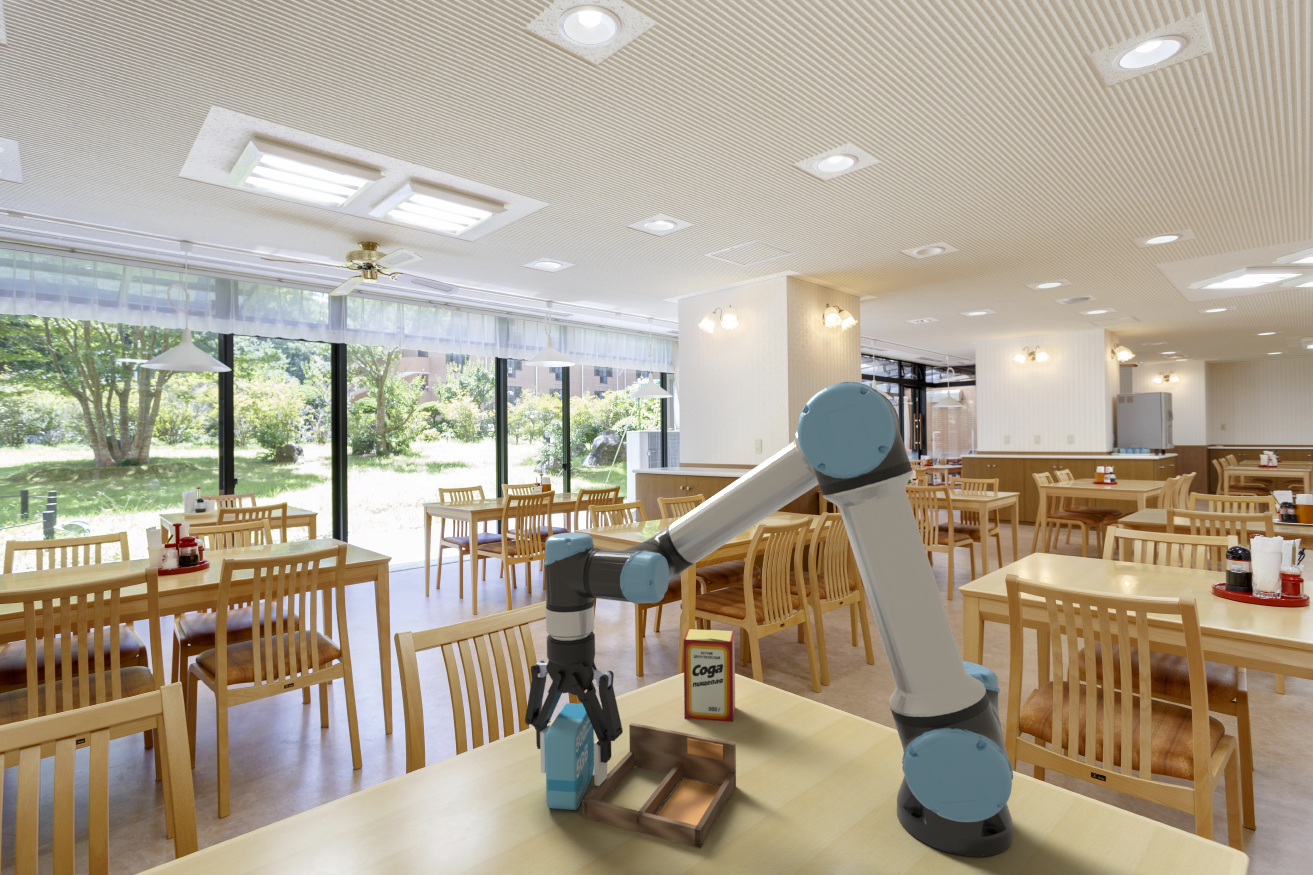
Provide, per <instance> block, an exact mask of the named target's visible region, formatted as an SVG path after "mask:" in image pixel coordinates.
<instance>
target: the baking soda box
mask: <svg viewBox="0 0 1313 875" xmlns="http://www.w3.org/2000/svg"><path fill="white" fill-rule="evenodd" d="M735 636H736V635H735V631H734V630H724V629H723V630H719V629H693V628H692V629H690V628H688V629H687V632H686V633H685V636H684V638H683V688H684V689H683V694H684V695H683V698H684V700H683V703H684V706H683V707H684V712H683V713H684V719H685V720H686V719H687V720H698V721H699V720H700V721H701V720H702V721H703V720H704V721H712V722H713V721H716V722H727V723H729V722H730V723H733V722H734V718H735V713H736V712H735V710H736V673H735V672H736V667H735V666H736V664H735V663H736V659H735V658H736V657H735V656H736V655H735V654H736V653H735V652H736V651H735V650H736V649H735V644H736V643H735V640H736V638H735Z"/></svg>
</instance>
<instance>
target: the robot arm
mask: <svg viewBox="0 0 1313 875" xmlns="http://www.w3.org/2000/svg"><path fill="white" fill-rule="evenodd" d="M800 412H801V413H800V414H799V417H798V421H797V427H796V431H795V434H794V435H795V436H794V439H793V441H791V442H790V443H789V444H788V445H786V446H784V447H782V449H780V450H778V451H776V453H774V454H772V455H771V456H769V457H768V458H766V459H765V460H764V461H762V462H761V463H759V464H758V465H757V466H755V467H753V468H752V469H751V470H749V471H748V472H746V473H744V475H742V476H740V477H739V478H737V479H736V480H734V481H733V482H731V484H728V485H727V486H726V487H724V488H723V489H721V490H720V491H718V492H717V493H715V494H714V495H712V496H711V497H710V498H708V499H707V500H705V501H703V502H702V503H701V504H699V505H697V507H695V508H694V509H692V510H690V511H689V512H687V513H686V514H685V515H683V516H681V517H680V518H678V519H677V520H675V521H674V522H672V524H670V525H668V526H667V527H665V528H664V529H662V530H661V531H659V532H658V533H656V534H655V535H653V536H651V537H650V538H648V539H647V540H644V541H643V542H639V543H637V544H635V545H632V546H629V547H628V548H625V549H604V548H603V549H602V548H598V547H595V544H594V540H593V537H592V535H590V534H589V533H584V532H562V533H556V534H553V535H550V536H549V537H548V538H547V539H546V541H545V546H544V550H545V551H544V563H543V567H544V576H545V597H546V598H545V600H546V601H545V631H546V633H547V636H546V658H547V660H548V661H547V662H545V661H544V660H540V661H538V662H536V663H534V664H532V666H530V675H531V683H530V690H529V694H528V700H527V704H526V705H527V706H526V711H525V717H524V723H525V724H526V725H528V726H530V725H531V726H533V727H534V729H535V731H536V732H535V734H536V735H535V737H536V741H535V742H536V748H537V750H540V773H541V774H546V735H547V731H548V729H549V728H550V726H551V725H552V724H550V723H551V722H552V720H551V718H552V716H553V714H554V712H555V710H556V707H557V705H558V703H559V701H560V699H561V696H562V694H571V695H572V696H573V695H574V696H576V698H577V699H578V701H579V702H580V703H581V704H583V706H584V708H585V710H586V713H587V715H588V717H589V720H590V722H591V724H592V727H593V729H594V734H595V735H596V738H597V739H596V740H594V771H593V774H594V786H600V784H601V783H602V782H603V781H604V780H605V779H606V778H607V774H608V762H609V761H610V760H611V759H612V742H615V741H616V740H617V739H618V738H619V737H620V736H621V735H622V734H623V733H624V732H623V730H624V729H623V725H622V721H621V717H620V712H619V707H618V704H617V698H616V694H615V690H614V674H615V673H614V672H613V671H612V670H608V671H606V672H605V671H602V670H599V669H598V668H597V666H596V664H595V656H596V637H595V636H596V634H595V633H594V632H593V631H594V630H595V599H600V600H607V601H616V602H625V603H631V604H636V605H641V604H657V603H659V602H661V601H662V600H663V599H664V597H665V594H666V593H667V591H668V588H669V582H670V580H673V579H675V578H677V577H678V576H679V575H681V574H682V573H683V572H685V571H686V570H687V569H689V568H690V567H692V566H693V565H694V564H696V563H697V562H699V561H701V560H702V559H704V558H706V557H707V556H708V555H711V553H713V552H715V551H716V550H718V549H720V548H721V547H723V546H725V545H726V544H727V543H729V542H731V541H732V540H733V539H735V538H737V537H739V536H740V535H742V533H744V532H747V530H749V529H751V528H752V527H754V526H755V525H757V524H759V523H760V522H762V521H763V520H765V519H767V518H768V517H769V516H771V515H773V514H775V513H776V512H777V511H779V510H780V509H783V507H785V506H787V505H788V504H790V503H792V502H793V501H795V500H797V499H798V498H799V497H801V496H803V495H804V494H806V493H807V492H809V491H811V490H812V489H814V488H815V487H816V486H818V485H819V486H818V487H819V489H820V492H821V495H822V498H823V499H825V500H826V501H828V502H830V503H832V504H834V505H835V506H836V507H838V510H839V512H840V516H841V518H842V522H843V525H844V528H845V531H846V534H847V538H848V540H849V544H850V547H851V549H852V553H853V556H854V559H855V562H856V566H857V569H858V572H859V574H860V578H861V581H862V585H863V587H864V590H865V593H866V597H867V600H868V603H869V605H870V609H871V613H872V615H873V618H874V622H875V624H876V628H877V631H878V633H879V638H880V641H881V643H882V647H883V650H884V652H885V655H886V659H887V662H888V666H889V668H890V671H891V674H892V677H893V681H894V684H895V689H894V690H893V692H892V694H891V695H890V697H889V700H888V702H889V708H890V711H891V714H892V717H893V720H894V723H895V727H896V730H897V733H898V736H899V740H900V743H901V747H902V751H903V755H902V761H901V764H902V772H903V774H904V775H903V779H902V781H901V783H900V785H899V789H898V792H897V796H896V816H897V819H898V820H899V823H900V824H901V826H902V827H903V828H904V830H906V831H907V833H909V834H910V835H911V836H913V837H914V838H916V839H917V840H918V841H920V842H922V843H924V844H926V845H928V846H930V847H932V848H935V849H937V850H939V851H943V852H946V853H949V854H953V855H958V856H964V857H965V856H966V857H987V856H988V857H989V856H990V857H991V856H993V855H997V854H1000V853H1002V852H1004V851H1006V850H1007V849H1008V848H1009V847H1010V846H1011V844H1012V842H1013V820H1012V815H1011V812H1010V809H1009V806H1008V801H1009V799H1010V797H1011V794H1012V790H1013V789H1012V788H1013V780H1014V770H1013V767H1012V764H1011V761H1010V759H1009V756H1008V751H1007V747H1006V743H1005V738H1004V733H1003V729H1002V725H1001V720H1000V713H999V693H1000V692H1001V690H1000V688H999V679H998V676H997V674H996V672H994V671H993V670H992V669H991V668H988V667H986V666H984V665H981V664H978V663H975V662H970V661H965V660H963V659H962V656H961V652H960V650H959V646H958V644H957V641H956V638H955V634H954V631H953V629H952V626H951V622H950V620H949V616H948V613H947V610H946V607H945V605H944V601H943V598H942V596H941V592H940V589H939V587H938V584H937V580H936V577H935V574H934V572H933V568H932V566H931V563H930V559H929V556H928V553H927V550H926V547H925V544H924V541H923V538H922V536H921V532H920V528H919V525H918V523H917V520H916V516H915V515H914V510H913V508H912V504H911V502H910V499H909V497H908V496H909V495H908V493H907V489H906V488H907V485H908V483H909V481H910V480H911V478H912V476H913V473H914V472H913V467H912V465H911V462H910V459H909V455H908V453H907V449H906V447H905V444H904V441H903V438H902V435H901V431H900V427H901V426H900V419H899V418H900V417H899V414H898V411H897V410H896V408H895V406H894V405H893V403H892V402H891V400H890V399H888V398H887V396H885V394H882V393H881V392H880V391H878V390H877V388H874V387H872V386H870V385H868V384H865V383H863V382H862V383H861V382H857V381H844V382H839V383H834V384H832V385H829V386H826V387H824V388H822V389H820V390H819V391H818V392H816V393H814V395H812V396H811V397H810V398H809V399H808V401H807V402H806V403H805V405H804V406H803V408H802V410H801V411H800ZM548 675H549V677H550V679H551V681H552V682H551V685H550V686H549V688H548V691H547V693H548V694H547V696H546V698H545V701H544V703H543V699H544V694H545V693H544V692H545V688H546V683H547V676H548ZM594 680H595V681H596V684H594V683H593V681H594ZM595 686H596V687H597V688H598V695H599V697H598V696H597V689H596V687H595ZM598 698H599V699H598ZM542 705H543V706H542Z"/></svg>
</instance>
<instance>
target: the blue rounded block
mask: <svg viewBox="0 0 1313 875" xmlns="http://www.w3.org/2000/svg"><path fill="white" fill-rule="evenodd" d="M550 725H551V726H550V728H549V729H548V731H547V735H546V773H545V788H546V789H545V790H546V791H545V792H546V793H545V794H546V796H545V797H546V800H545V801H546V807H547V808H548V809H555V810H556V809H557V810H558V809H559V810H570V811H577V810H578V809H579V806H580V804H581V803H582V801H583V799H584V798H583V797H584V796H585V793H586V790H588V786H589V785H590V782H591V780H592V778H593V774H594V742H595V740H594V738H595V736H594V734H595V731H594V729H593V727H592V724H591V722H590V720H589V717H588V715H587V713H586V710H585V708H584V706H583V703H574V702H573V703H571V702H569V703H568V702H566V703H564V705H563V706H562V708H561V709H560V711H559V712H558V714H557V715H556V717H555V718H554V720H553V722H552V723H551V724H550Z"/></svg>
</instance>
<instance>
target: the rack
mask: <svg viewBox="0 0 1313 875" xmlns="http://www.w3.org/2000/svg"><path fill="white" fill-rule="evenodd" d="M628 729H629V751H628V752H627V753H626V755H624V757H622V758H621V759H620V761H618V762H617V763H616V765H615V766H614V767H613V768H612V769H611V770H610V771H609V772H607V778H606V779H605V780H604V781H603V782H602V783H601V784H600V786H597V785H595V787H594V788H593V789H592V790H591V791H590V792H589V793H588V794H587V795H586V796H585V797H584V798H582V818H584V819H588V820H592V821H595V822H600V823H603V824H607V825H611V826H615V827H620V828H622V829H627V830H630V831H634V832H638V833H641V834H645V835H649V836H652V837H656V838H660V839H664V840H667V841H670V842H674V843H679V844H682V845H687V846H691V847H694V848H698V849H701V848H702V847H703V845H704V843H705V841H706V840H707V837H708V836H709V835H710V833H711V831H712V829H713V827H714V826H715V824H716V822H717V820H718V819H719V817H720V815H721V813H722V811H723V810H724V808H725V807H726V804H727V803H728V801H729V799H730V798H731V796H732V794H733V792H734V790H735V789H736V787H737V754H736V753H737V752H736V750H737V749H736V746H737V745H736V744H737V743H736V742H733V741H730V740H729V741H727V740H723V739H717V738H712V737H707V736H703V735H697V734H691V733H685V732H681V731H676V730H672V729H665V728H660V727H655V726H650V725H646V724H645V725H644V724H641V723H640V724H639V723H636V722H635V723H634V722H631V723H630V724H629V728H628ZM633 768H639V769H643V770H647V771H652V772H657V773H662V774H666V776H665V777H664V778H663V780H662V781H661V782H660V784H659V785H658V786H657V787H656V789H655V790H654V791H653V792H652V794H650V796H649V797H648V799H647V800H646V802H645V803H644V804H643V805H642V807H641V808H640V809H639V810H636V809H633V808H628V807H626V806H625V807H624V806H621V805H617V804H613V803H609V802H604V801H605V799H607V797H608V796H609V795H610V794H611V793H612V792H613V791H614V790H615V789H616V787H617V786H618V785H619V784H620V783H621V782H622V781H623V780H624V779H625V777H627V775H628V774H629V773H630V771H632V769H633ZM682 779H683V780H682ZM680 781H681V782H680ZM679 783H680V784H679ZM678 784H679V785H678ZM676 787H677V788H676ZM675 789H676V790H675ZM674 790H675V791H674ZM671 794H672V795H671ZM667 799H668V800H667ZM666 800H667V801H666ZM665 802H666V803H665ZM664 803H665V804H664ZM663 805H664V806H663ZM660 809H661V810H660ZM659 810H660V811H659ZM657 813H658V814H657Z"/></svg>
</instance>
